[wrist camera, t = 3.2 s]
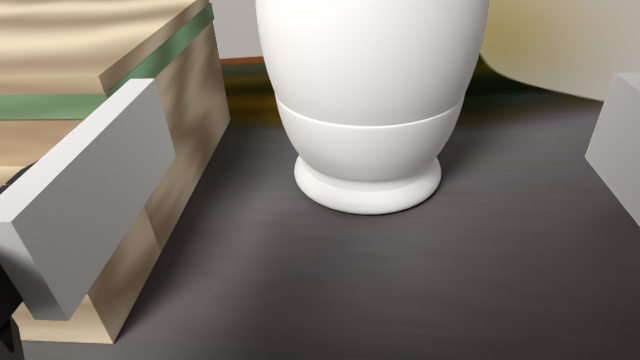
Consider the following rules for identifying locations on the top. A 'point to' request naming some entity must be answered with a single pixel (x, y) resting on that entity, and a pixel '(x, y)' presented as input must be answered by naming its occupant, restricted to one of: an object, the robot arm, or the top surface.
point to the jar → (370, 92)
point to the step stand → (91, 92)
